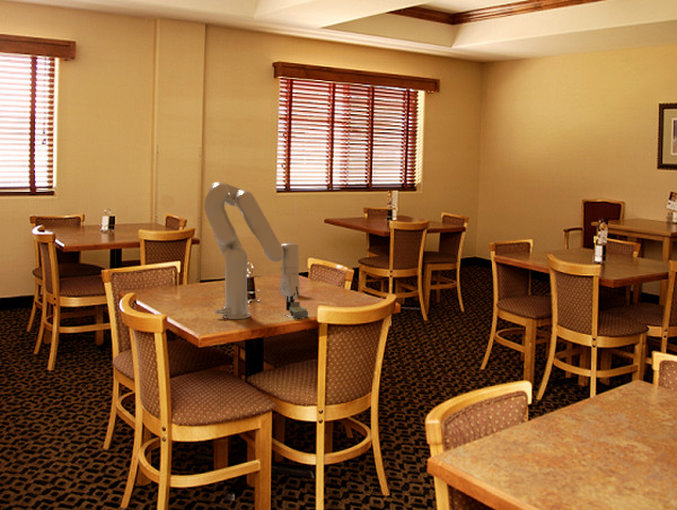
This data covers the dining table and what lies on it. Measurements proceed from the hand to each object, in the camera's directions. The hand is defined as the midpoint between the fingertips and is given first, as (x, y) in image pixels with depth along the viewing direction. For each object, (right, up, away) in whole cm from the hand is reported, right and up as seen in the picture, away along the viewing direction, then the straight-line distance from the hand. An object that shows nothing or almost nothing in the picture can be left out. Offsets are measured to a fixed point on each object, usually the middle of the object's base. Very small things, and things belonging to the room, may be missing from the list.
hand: (290, 310), depth 314 cm
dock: (+3, -3, -5) cm, 6 cm away
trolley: (+4, -2, -4) cm, 6 cm away
